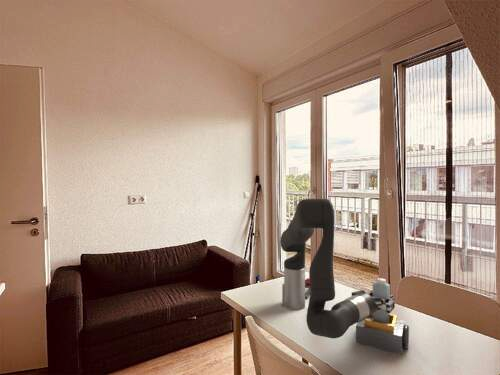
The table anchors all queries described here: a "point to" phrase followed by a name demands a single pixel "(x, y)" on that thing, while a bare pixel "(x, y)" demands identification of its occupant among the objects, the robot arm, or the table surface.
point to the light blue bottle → (380, 290)
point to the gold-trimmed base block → (383, 334)
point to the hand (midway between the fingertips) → (384, 295)
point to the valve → (307, 282)
